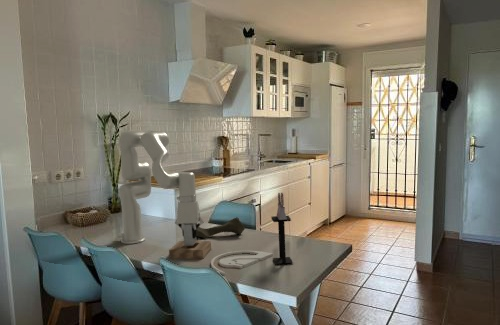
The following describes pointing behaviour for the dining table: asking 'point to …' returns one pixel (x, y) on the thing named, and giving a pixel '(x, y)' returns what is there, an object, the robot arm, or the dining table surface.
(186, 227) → the grey rectangular prism
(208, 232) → the bone
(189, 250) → the well block
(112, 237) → the dining table surface
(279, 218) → the black pedestal stand
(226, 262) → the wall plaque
